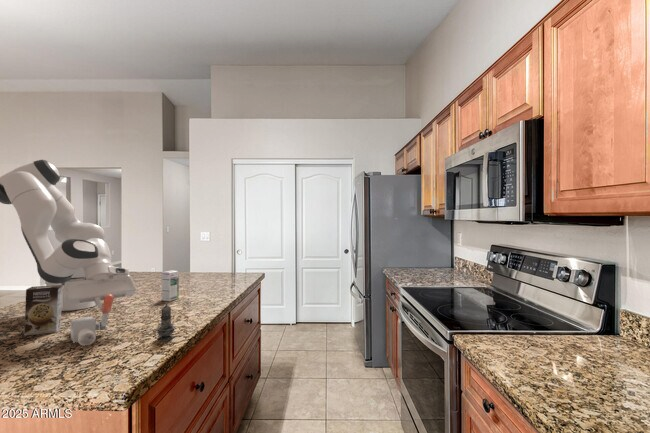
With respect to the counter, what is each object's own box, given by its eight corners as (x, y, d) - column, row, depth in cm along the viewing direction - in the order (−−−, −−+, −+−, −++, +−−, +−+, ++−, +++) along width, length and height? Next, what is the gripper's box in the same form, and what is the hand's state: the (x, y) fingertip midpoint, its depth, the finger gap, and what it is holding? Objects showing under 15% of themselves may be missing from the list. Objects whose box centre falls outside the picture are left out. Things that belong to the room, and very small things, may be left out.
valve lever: (96, 325, 115) (104, 292, 106) (105, 323, 117) (113, 291, 108) (97, 332, 113) (105, 300, 105) (106, 330, 115) (115, 298, 107)
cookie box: (23, 336, 112) (24, 289, 112) (30, 330, 117) (31, 286, 118) (56, 332, 116) (57, 287, 116) (61, 326, 122) (62, 284, 122)
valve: (68, 333, 115) (69, 316, 115) (93, 328, 120) (93, 312, 120) (75, 348, 102) (75, 329, 102) (103, 342, 107) (103, 324, 107)
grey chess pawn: (160, 335, 114) (161, 301, 114) (177, 335, 114) (178, 301, 115) (153, 341, 108) (153, 305, 108) (171, 341, 108) (171, 305, 109)
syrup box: (169, 301, 160) (170, 272, 161) (160, 300, 163) (161, 271, 163) (178, 298, 166) (179, 270, 166) (170, 297, 168) (170, 270, 168)
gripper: (64, 274, 109) (67, 309, 102) (132, 268, 123) (139, 299, 116) (63, 285, 112) (65, 320, 105) (129, 278, 127) (136, 308, 120)
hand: (105, 309), depth 111 cm, fingers closed, pressing on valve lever
